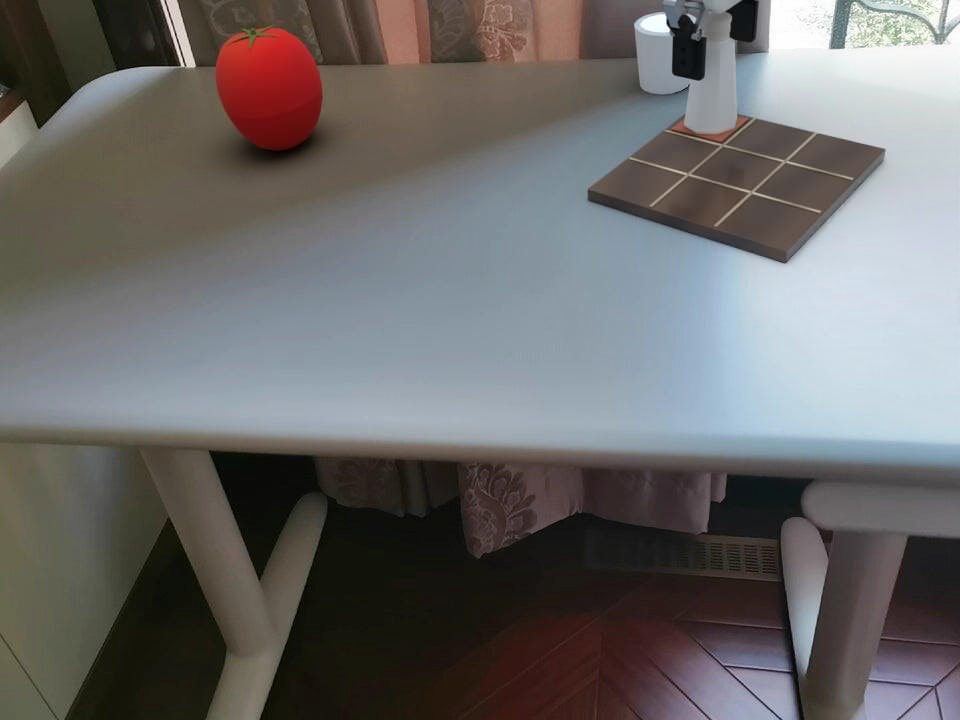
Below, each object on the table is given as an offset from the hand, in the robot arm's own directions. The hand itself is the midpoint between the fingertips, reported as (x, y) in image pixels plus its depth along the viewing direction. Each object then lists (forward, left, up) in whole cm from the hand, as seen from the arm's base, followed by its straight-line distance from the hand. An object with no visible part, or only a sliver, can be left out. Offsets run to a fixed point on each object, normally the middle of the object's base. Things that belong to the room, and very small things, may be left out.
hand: (714, 57), depth 92 cm
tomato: (+40, +24, -8) cm, 47 cm away
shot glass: (+11, -8, -8) cm, 16 cm away
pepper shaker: (0, 0, -7) cm, 7 cm away
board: (-6, +7, -8) cm, 12 cm away
